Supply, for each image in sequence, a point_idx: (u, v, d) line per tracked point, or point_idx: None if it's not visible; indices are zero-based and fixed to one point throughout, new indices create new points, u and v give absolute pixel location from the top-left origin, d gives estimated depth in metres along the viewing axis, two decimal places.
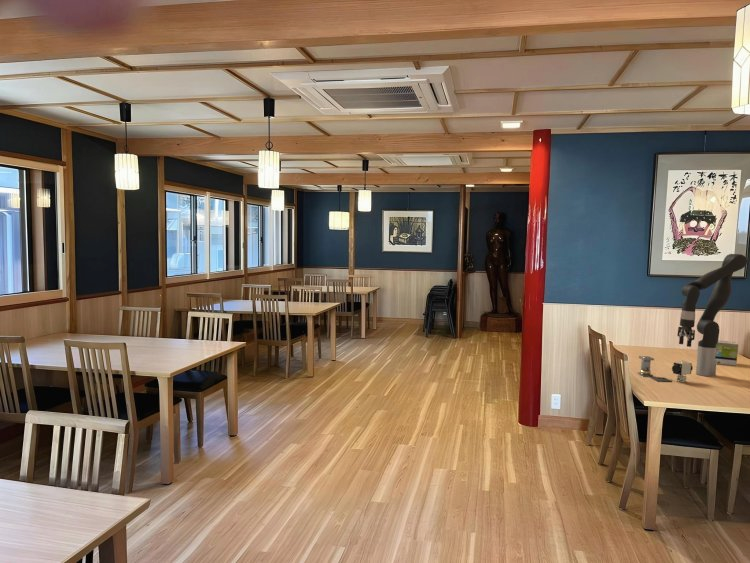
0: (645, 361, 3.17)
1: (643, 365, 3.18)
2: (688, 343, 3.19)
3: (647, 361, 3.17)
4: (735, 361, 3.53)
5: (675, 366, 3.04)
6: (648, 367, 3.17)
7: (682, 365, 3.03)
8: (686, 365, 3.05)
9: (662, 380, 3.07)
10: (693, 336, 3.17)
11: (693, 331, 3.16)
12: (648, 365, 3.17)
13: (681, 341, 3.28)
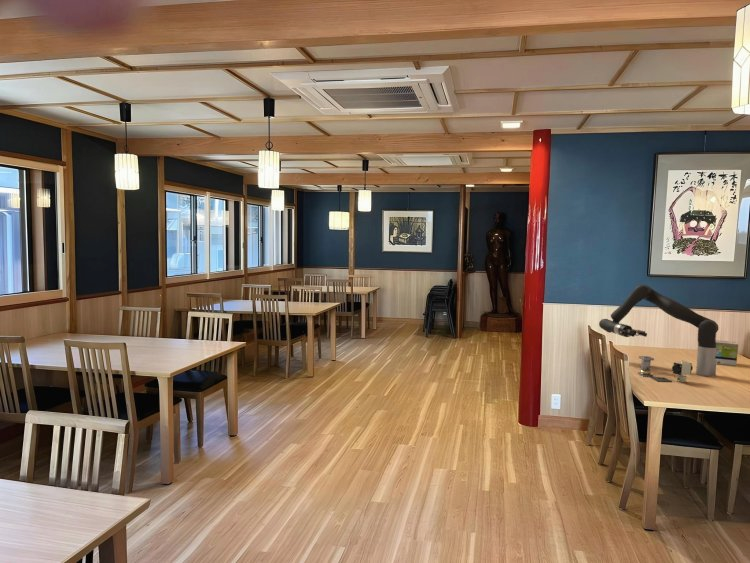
0: (645, 361, 3.17)
1: (643, 365, 3.18)
2: (630, 335, 3.30)
3: (647, 361, 3.17)
4: (735, 361, 3.53)
5: (675, 366, 3.04)
6: (648, 367, 3.17)
7: (682, 365, 3.03)
8: (686, 365, 3.05)
9: (662, 380, 3.07)
10: (623, 331, 3.34)
11: (620, 331, 3.37)
12: (648, 365, 3.17)
13: (643, 334, 3.32)
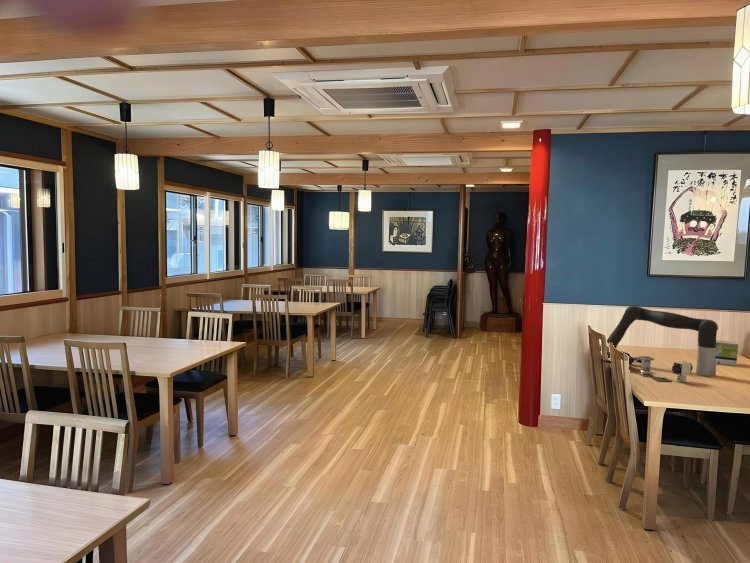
0: (645, 361, 3.17)
1: (643, 365, 3.18)
2: None
3: (647, 361, 3.17)
4: (735, 361, 3.53)
5: (675, 366, 3.04)
6: (648, 367, 3.17)
7: (682, 365, 3.03)
8: (686, 365, 3.05)
9: (662, 380, 3.07)
10: None
11: None
12: (648, 365, 3.17)
13: None
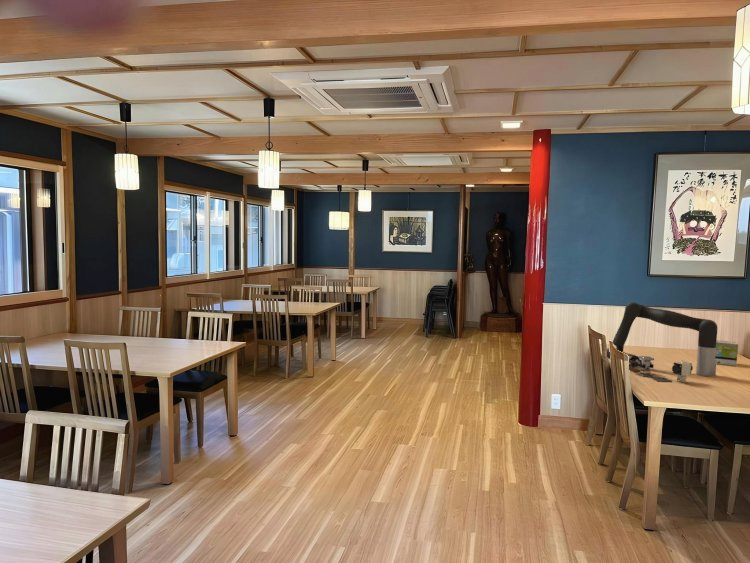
0: (645, 361, 3.17)
1: None
2: None
3: (647, 361, 3.17)
4: (735, 361, 3.53)
5: (675, 366, 3.04)
6: (648, 367, 3.17)
7: (682, 365, 3.03)
8: (686, 365, 3.05)
9: (662, 380, 3.07)
10: (633, 362, 3.22)
11: None
12: (648, 365, 3.17)
13: (650, 365, 3.19)
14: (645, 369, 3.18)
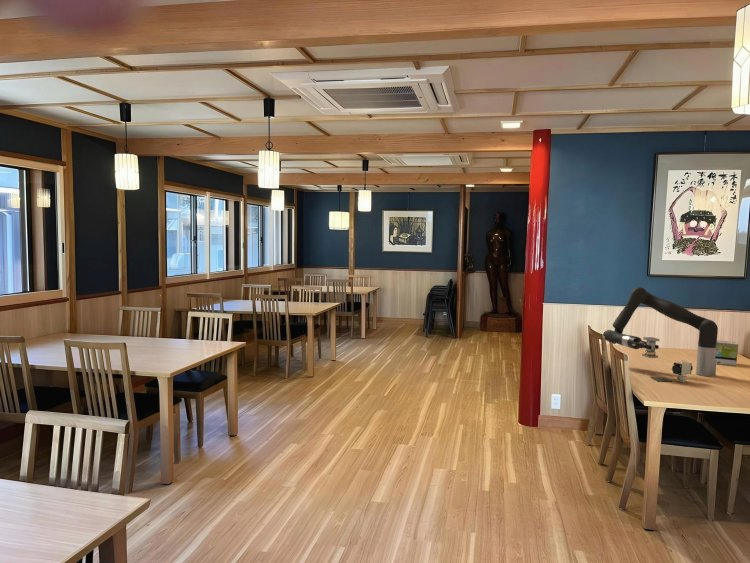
0: (651, 342, 3.14)
1: None
2: (647, 348, 3.14)
3: (653, 342, 3.14)
4: (735, 361, 3.53)
5: (675, 366, 3.04)
6: (654, 348, 3.14)
7: (682, 365, 3.03)
8: (686, 365, 3.05)
9: (662, 380, 3.07)
10: (638, 344, 3.18)
11: (633, 344, 3.20)
12: (654, 346, 3.14)
13: (655, 346, 3.16)
14: (651, 350, 3.14)
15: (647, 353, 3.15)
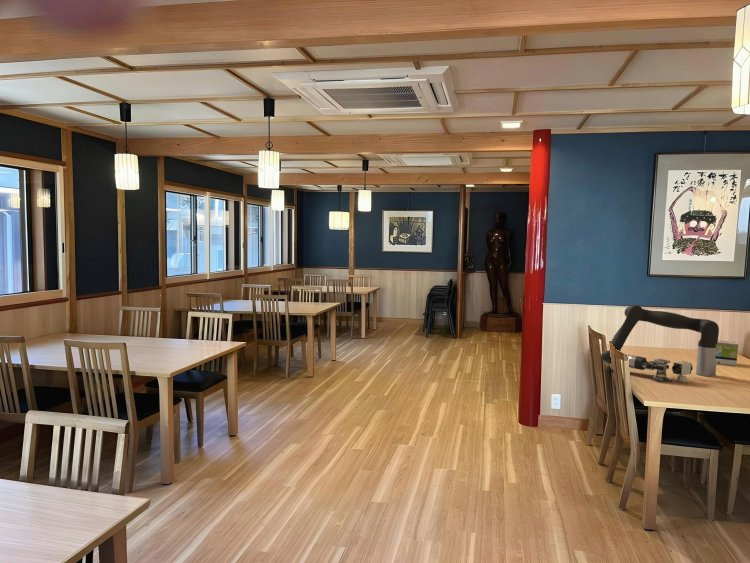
0: (664, 365, 3.07)
1: None
2: (659, 369, 3.07)
3: (665, 364, 3.07)
4: (735, 361, 3.53)
5: (675, 366, 3.04)
6: (665, 370, 3.08)
7: (682, 365, 3.03)
8: (686, 365, 3.05)
9: None
10: (649, 365, 3.09)
11: (644, 365, 3.10)
12: None
13: None
14: (663, 373, 3.08)
15: (660, 376, 3.08)
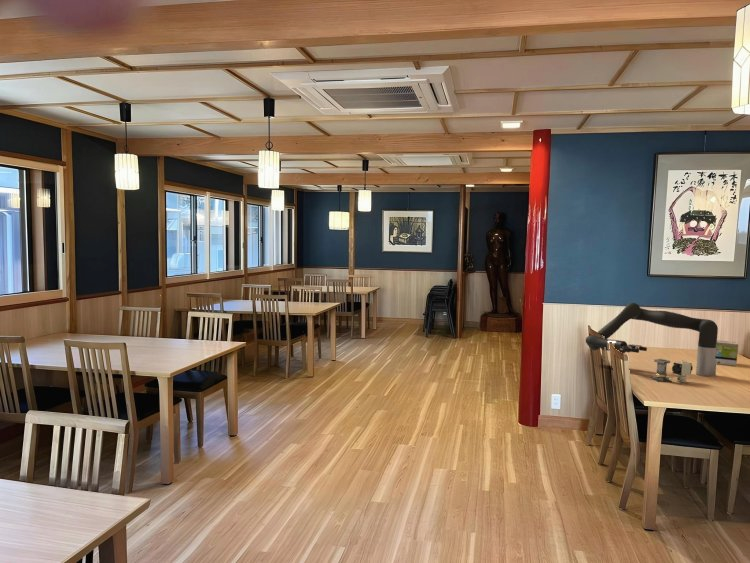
0: (664, 365, 3.07)
1: (661, 369, 3.08)
2: (634, 351, 3.18)
3: (665, 364, 3.07)
4: (735, 361, 3.53)
5: (675, 366, 3.04)
6: (665, 370, 3.08)
7: (682, 365, 3.03)
8: (686, 365, 3.05)
9: None
10: (625, 348, 3.21)
11: (621, 348, 3.24)
12: None
13: (643, 349, 3.23)
14: (663, 373, 3.08)
15: (660, 376, 3.08)
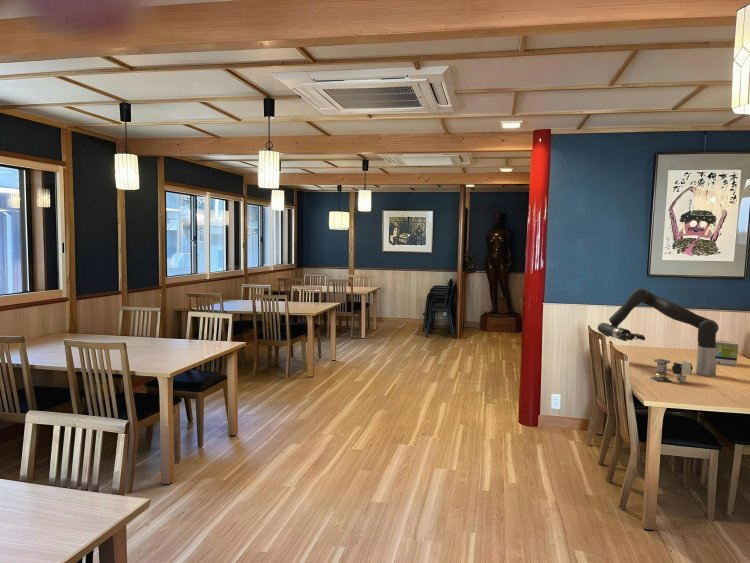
0: (664, 365, 3.07)
1: (661, 369, 3.08)
2: (629, 339, 3.31)
3: (665, 364, 3.07)
4: (735, 361, 3.53)
5: (675, 366, 3.04)
6: (665, 370, 3.08)
7: (682, 365, 3.03)
8: (686, 365, 3.05)
9: None
10: (621, 335, 3.35)
11: (618, 335, 3.38)
12: None
13: (642, 338, 3.32)
14: (663, 373, 3.08)
15: (660, 376, 3.08)
